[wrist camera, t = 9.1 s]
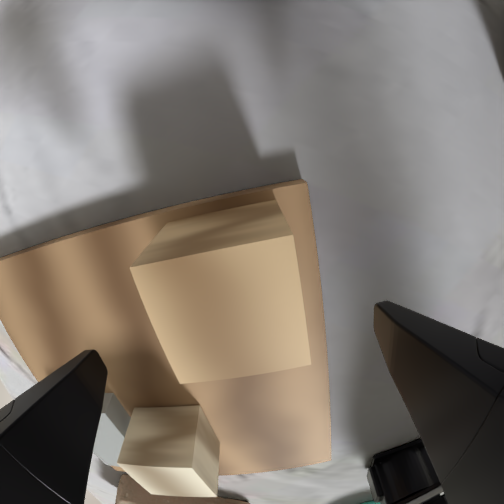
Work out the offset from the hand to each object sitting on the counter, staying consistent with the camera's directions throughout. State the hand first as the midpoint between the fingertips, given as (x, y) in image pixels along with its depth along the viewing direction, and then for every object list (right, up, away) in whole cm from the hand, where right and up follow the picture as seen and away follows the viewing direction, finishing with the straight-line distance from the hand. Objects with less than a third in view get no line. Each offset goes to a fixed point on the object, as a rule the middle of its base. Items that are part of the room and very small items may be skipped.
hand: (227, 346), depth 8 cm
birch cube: (-5, -10, +10) cm, 15 cm away
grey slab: (-11, -11, +11) cm, 19 cm away
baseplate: (-5, -7, +10) cm, 14 cm away
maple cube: (0, +2, +6) cm, 6 cm away
